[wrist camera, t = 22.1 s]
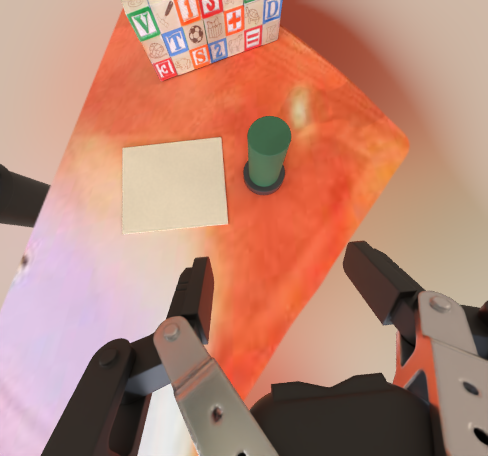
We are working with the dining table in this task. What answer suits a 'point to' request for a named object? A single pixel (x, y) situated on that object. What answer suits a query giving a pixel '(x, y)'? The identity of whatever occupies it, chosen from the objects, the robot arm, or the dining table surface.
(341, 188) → the dining table surface
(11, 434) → the dining table surface
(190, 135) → the dining table surface
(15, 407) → the dining table surface
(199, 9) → the stack of blocks
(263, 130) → the green cylinder with base
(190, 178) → the napkin
